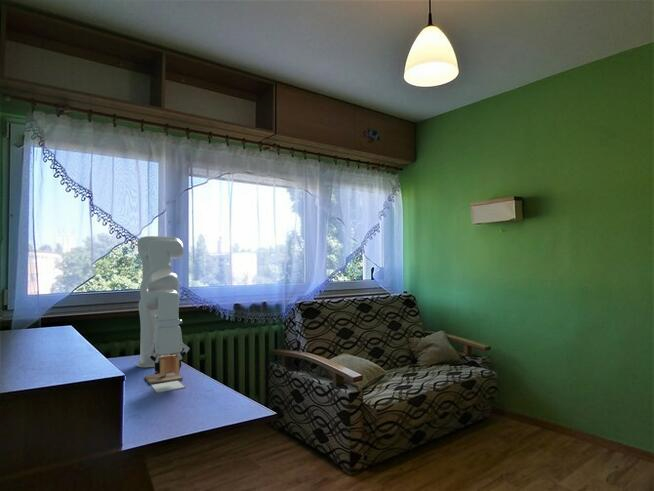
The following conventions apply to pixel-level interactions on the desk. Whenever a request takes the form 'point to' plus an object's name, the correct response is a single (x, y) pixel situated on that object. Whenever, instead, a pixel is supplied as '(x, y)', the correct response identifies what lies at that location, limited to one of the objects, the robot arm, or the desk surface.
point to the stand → (163, 378)
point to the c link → (169, 364)
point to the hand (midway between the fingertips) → (168, 370)
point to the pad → (167, 386)
